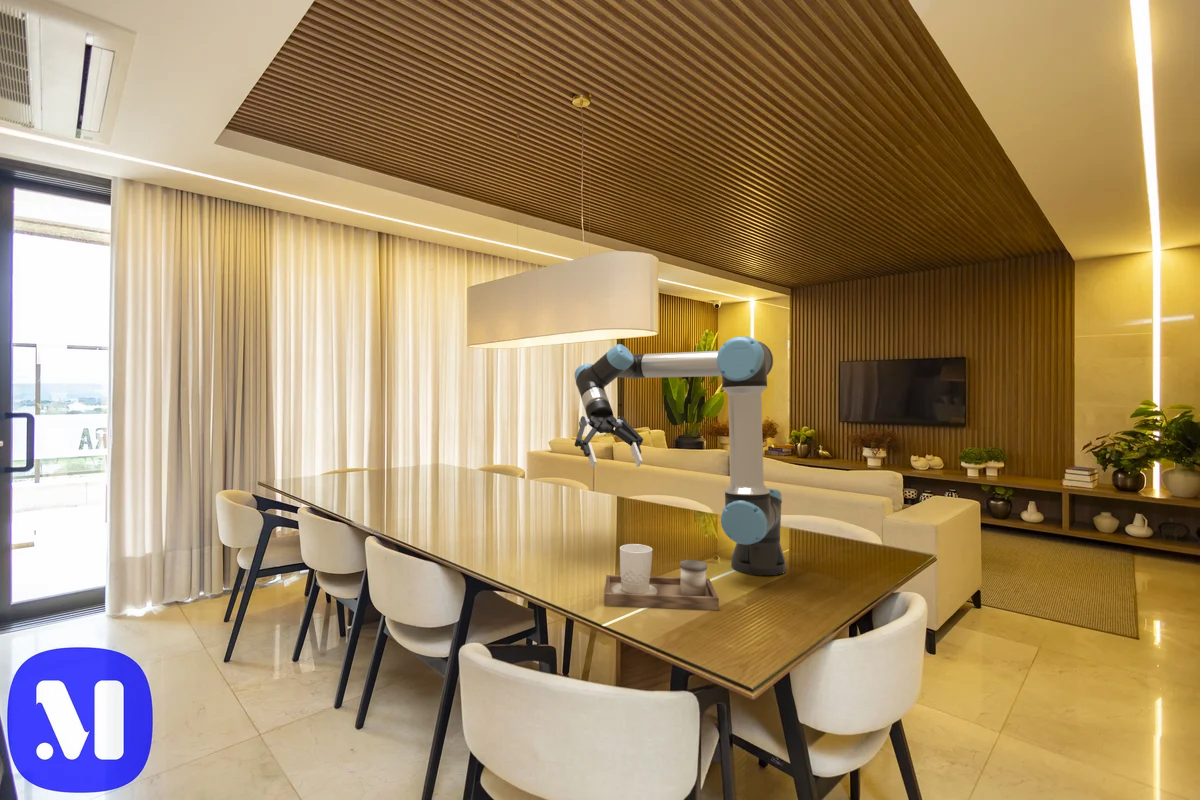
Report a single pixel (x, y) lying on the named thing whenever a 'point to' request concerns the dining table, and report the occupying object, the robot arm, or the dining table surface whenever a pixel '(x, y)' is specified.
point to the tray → (668, 590)
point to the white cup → (635, 568)
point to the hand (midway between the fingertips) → (617, 464)
